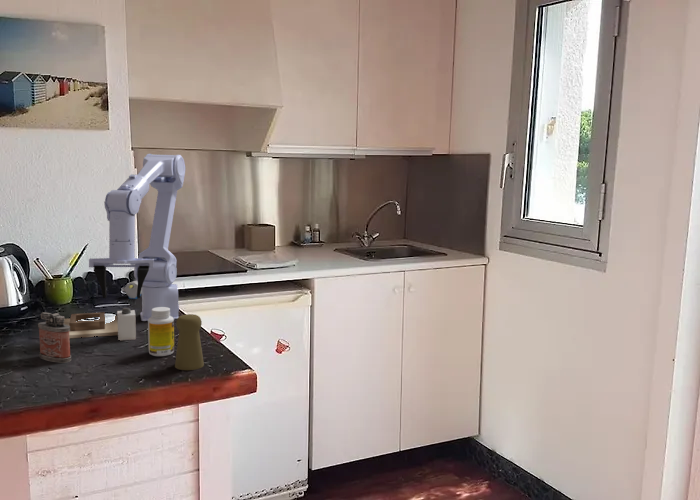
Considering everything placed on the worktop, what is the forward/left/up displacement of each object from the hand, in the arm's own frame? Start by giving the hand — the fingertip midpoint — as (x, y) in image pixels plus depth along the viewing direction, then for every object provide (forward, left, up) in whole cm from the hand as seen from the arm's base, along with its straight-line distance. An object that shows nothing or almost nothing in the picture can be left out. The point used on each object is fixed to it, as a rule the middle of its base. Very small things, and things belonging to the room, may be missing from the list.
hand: (121, 297), depth 160 cm
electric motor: (-4, -41, -10) cm, 42 cm away
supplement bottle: (-8, +15, -10) cm, 20 cm away
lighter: (+14, +13, -10) cm, 22 cm away
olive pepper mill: (-13, +25, -10) cm, 30 cm away
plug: (-1, 0, -10) cm, 10 cm away
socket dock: (+8, -10, -10) cm, 16 cm away
